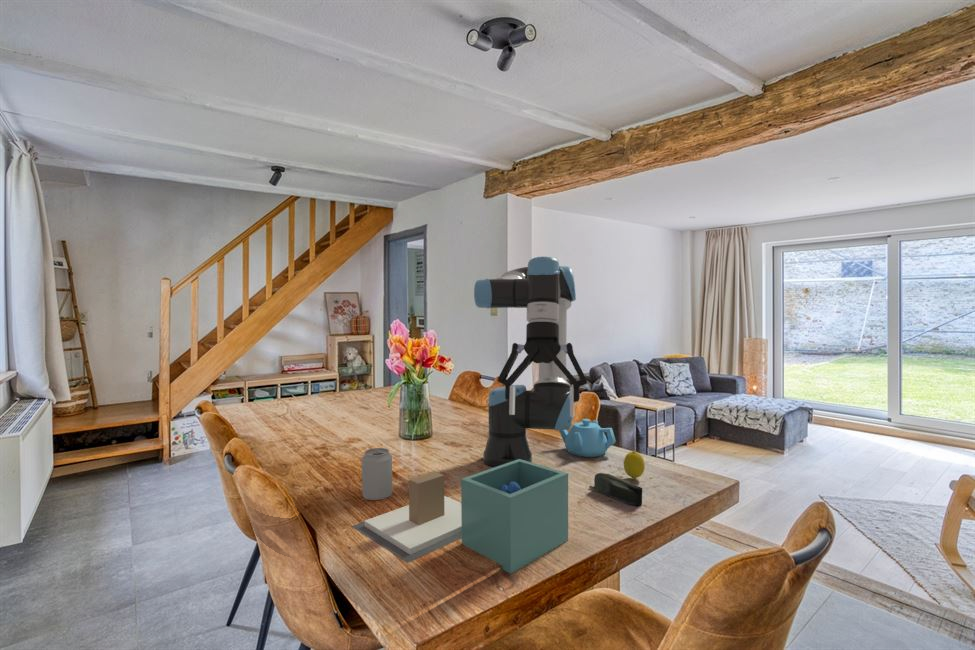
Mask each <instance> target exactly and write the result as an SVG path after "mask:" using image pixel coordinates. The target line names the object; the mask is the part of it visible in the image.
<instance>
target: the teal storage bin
mask: <svg viewBox="0 0 975 650" xmlns="http://www.w3.org/2000/svg"><path fill="white" fill-rule="evenodd" d="M510 482H516V483H517V484H518V485H519V486H520V488H521V490H519V491H516V492H514V493H511V494H509V493H506V492H503V491H501V490H499V489H500V487H501V486H502V485H506V486H508V485H509V483H510ZM460 489H461V491H460V495H461V497H460V498H461V518H462V538H461V545H463V546H464V547H466V548H469V549H471V550H473V551H475V553H478V554H480V555H481V556H484V557H486V558H488V559H490V560H491V561H494V563H497V564H499V565H500V566H498V568H499V569H500V570H503V571H504V572H507V573H508V574H510V575H512V574H513V573H515V572H516V571H518V570H520V569H522V568H524V567H525V566H527V565H529V564H530V563H532V562H534V561H536V560H537V559H538V558H541V557H543V556H544V555H546V554H547V553H549V552H551V551H554V549H557V547H559V545H560V546H562V545H563V544H565V543H567V542H568V541H569V473H567V472H565V471H561V470H558V469H555V468H551V467H547V466H544V465H541V464H537V463H535V462H528V461H525V460H521V459H518V460H515V461H512V462H509V463H506V464H503V465H500V466H497V467H491V468H489V469H486V470H482V471H480V472H478V473H475V474H471V475H468V476H466V477H465V476H464V477H463V478H460ZM564 542H565V543H564Z"/></svg>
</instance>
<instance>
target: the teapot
mask: <svg viewBox="0 0 975 650" xmlns="http://www.w3.org/2000/svg"><path fill="white" fill-rule="evenodd" d="M558 431H559V434H560V437H561V438H562V442H563V443H564V448H565V449H566V450H567V451H568V453H570V454H571V455H573V454H574V455H573V456H576V455H578V456H577V457H581V456H584V457H583V458H596V457H597V456H598V457H601V456H603V455H604V454H605V453H606V452H607V451H608V449H609V448H610V447H612V446H613V445H614V444H615V443H617V441H616V437H615V436H616V435H615V434H614V430H613V428H612V427H605V428H604V427H601V426H600V425H599V420H596V419H595V420H594V419H593V420H592V422H591V419H588V418H583V419H581V421H579V422H575V423H573V424H572V425H571V427H570V428H569V431H568V429H567V430H558ZM598 457H597V458H598Z"/></svg>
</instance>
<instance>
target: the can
mask: <svg viewBox="0 0 975 650" xmlns="http://www.w3.org/2000/svg"><path fill="white" fill-rule="evenodd" d="M363 453H364V455H363V456H362V457H361V492H362V493H361V496H362V497H363V499H365V500H367V501H379V500H381V501H382V500H384V499H387V498H390V497H391V496H392V494H393V456H392V455H391V453H390V450H389V449H388V448H385V447H376V448H369V449H367V450H365V451H364V452H363Z"/></svg>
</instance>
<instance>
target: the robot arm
mask: <svg viewBox="0 0 975 650" xmlns="http://www.w3.org/2000/svg"><path fill="white" fill-rule="evenodd" d="M573 273H574V272H573V270H572V268H571V267H570V266H568V265H567V266H564V265H563V266H560V263H559V260H557V258H555V257H552V256H536V257H533V258H531V259H529V260H528V263H527V266H524V267H519V268H515V269H511V270H509V271H506V272H504V273H502V275H500V277H497V278H490V279H489V278H485V279H484V278H483V279H478V280H476V281H475V283H474V288H473V291H474V292H473V299H474V304H475V306H476V307H478V308H480V309H504V308H505V309H506V308H507V309H510V308H511V309H512V308H515V309H526V322H528V323H527V324H526V326H525V327H526V328H525V329H526V330H525V331H526V333H525V335H526V336H525V337H526V338H525V343H524V344H519V343H516V342H513V343H512V344H511V345H512V346H511V353H510V354H509V356H508V358H507V360H506V362H505V364H504V366H503V368H502V370H501V372H500V374H499V375H498V378H497V382H498V383H501V384H503V385H504V386H503V385H502V386H500V387H496V388H492V390H491V391H489V393H488V403H487V407H488V437H487V441H486V444H485V450H484V451H483V453H482V454H483V455H482V457H483V458H482V459H483V460H482V461H483V463H484V464H485V465H487V466H489V467H491V468H494V467H497V466H500V465H503V464H506V463H509V462H512V461H515V460H518V459H521V460H525V461H528V462H531V463H533V455H532V452H531V450H530V447H529V446H530V445H529V442H528V439H527V429H529V430H530V429H531V430H532V429H533V430H537V429H538V430H554V431H559V430H567V431H568V430H570V429H571V427H572V426H573V419H574V417H575V405H576V402H577V403H578V402H579V401H580V388H581V387H582V386H585V385H587V384H588V380H587V378H586V375H585V373H584V371H583V369H582V367H581V365H580V363H579V361H578V360H577V357H576V356H575V354H574V346H573V344H572V343H571V342H567V327H568V325H567V320H568V319H567V318H568V317H567V311H568V310H569V309H570V308H571V307H572V302H575V301H576V300H577V299H576V298H577V297H576V286H575V279H574V274H573ZM523 351H524V352H525V353H526V356H525V357H524V359H522V362H520V363H519V365H518V366H517V367H516V368H515V369H514V371H513V372H512V373H511V374H510V372H511V371H512V368H513V366H514V364H515V362H516V361H517V359H518V356H519V354H521V353H522V352H523ZM567 355H568V357H569V360H570V362H571V364H572V366H573V368H574V370H575V372H576V373H577V376H578V378H579V379H578V380H577V379H576V378H575V377H574V375H573V374H572V373H571V371H569V370H568V368H567ZM532 363H535V364H538V380H536V382H535V383H533V390H532V389H531V390H530V389H529V390H527V387H526V385H523V384H515V382H516V380H518V379H519V377H520V376H521V375H522V374H523V373H524V372H525V370H527V368H528V367H529V366H530V365H531V364H532ZM509 374H510V375H509ZM508 375H509V377H508ZM567 380H569V381H567ZM569 382H570V383H571V384H572V385H573V386H572V385H571V384H570V383H569Z"/></svg>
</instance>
